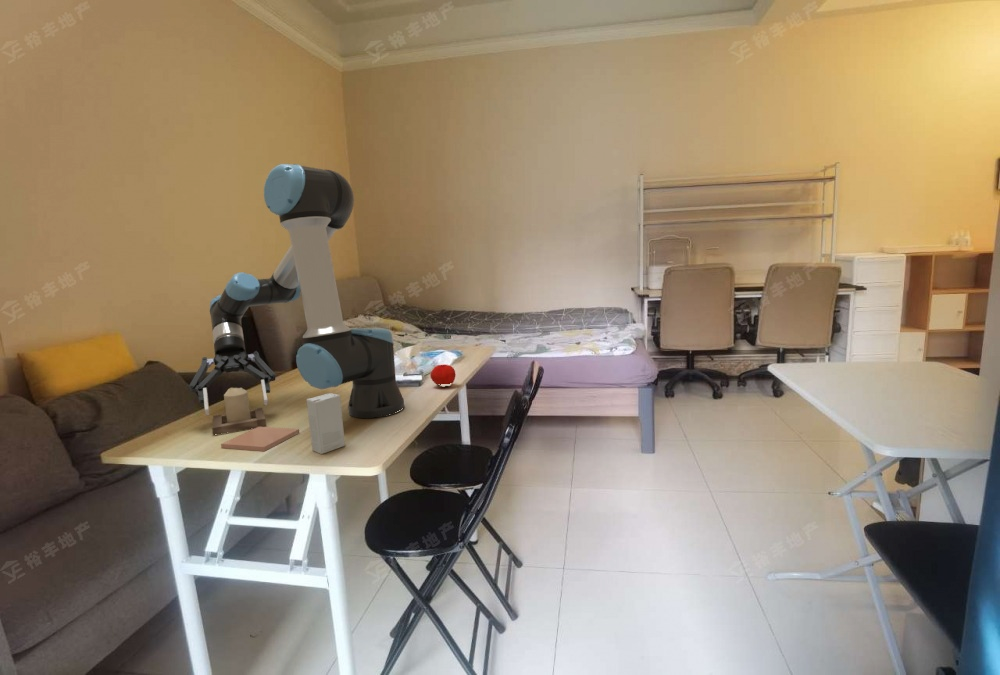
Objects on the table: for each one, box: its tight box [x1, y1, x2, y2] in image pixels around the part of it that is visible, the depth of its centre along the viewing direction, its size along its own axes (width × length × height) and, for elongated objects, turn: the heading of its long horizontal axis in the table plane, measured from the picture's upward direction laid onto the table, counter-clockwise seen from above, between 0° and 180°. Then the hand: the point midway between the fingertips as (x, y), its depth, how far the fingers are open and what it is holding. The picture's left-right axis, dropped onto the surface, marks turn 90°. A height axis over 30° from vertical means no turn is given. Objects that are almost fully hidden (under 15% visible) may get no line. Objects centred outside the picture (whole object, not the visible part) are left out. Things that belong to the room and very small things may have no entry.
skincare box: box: [306, 392, 346, 455], centre depth 112 cm, size 6×4×12 cm
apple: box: [430, 364, 456, 385], centre depth 162 cm, size 8×8×7 cm
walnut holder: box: [212, 407, 267, 436], centre depth 133 cm, size 12×12×2 cm
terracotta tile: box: [220, 426, 300, 452], centre depth 120 cm, size 12×12×1 cm
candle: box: [223, 387, 252, 423], centre depth 132 cm, size 6×6×10 cm
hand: (237, 407), depth 130 cm, fingers open, 13 cm apart
